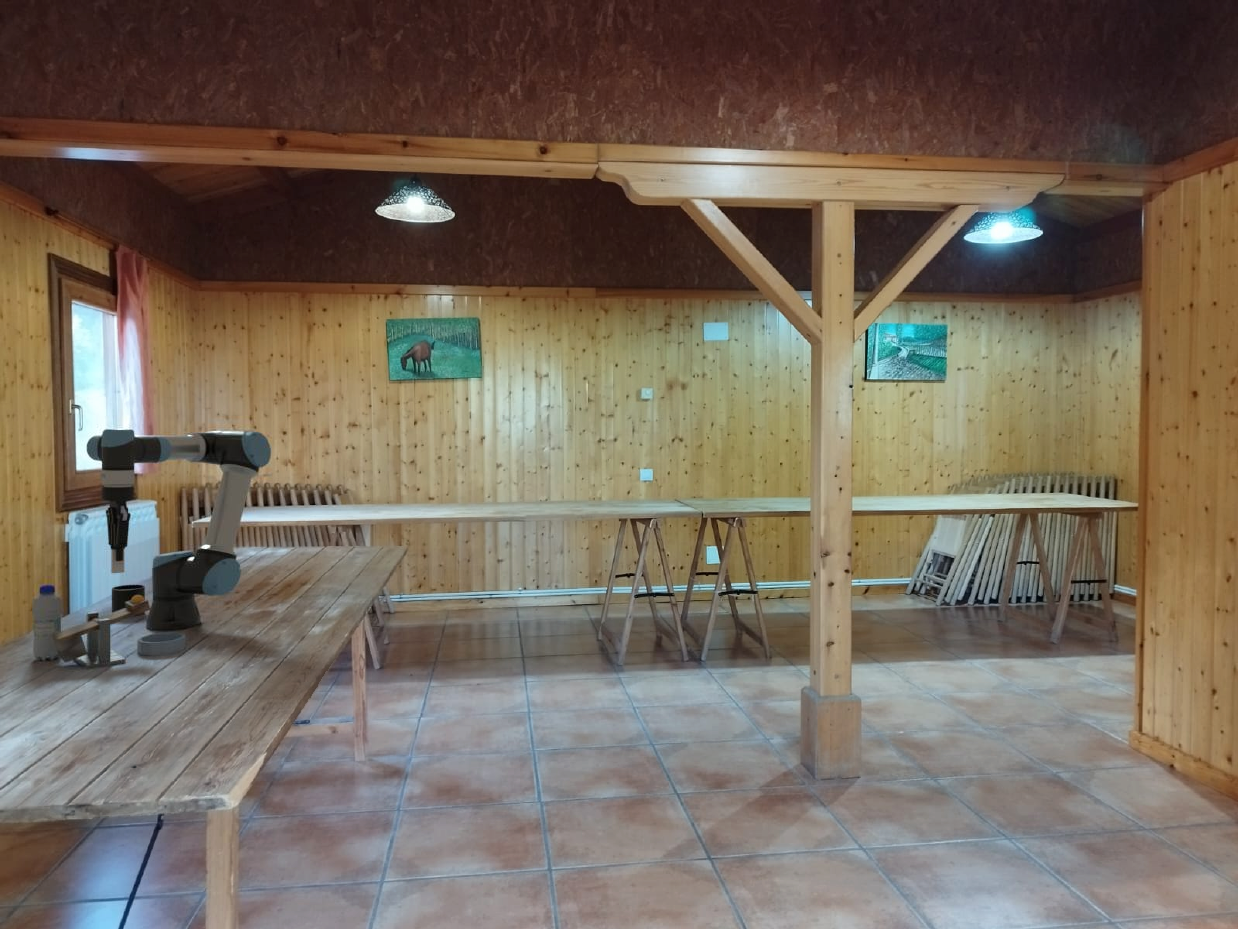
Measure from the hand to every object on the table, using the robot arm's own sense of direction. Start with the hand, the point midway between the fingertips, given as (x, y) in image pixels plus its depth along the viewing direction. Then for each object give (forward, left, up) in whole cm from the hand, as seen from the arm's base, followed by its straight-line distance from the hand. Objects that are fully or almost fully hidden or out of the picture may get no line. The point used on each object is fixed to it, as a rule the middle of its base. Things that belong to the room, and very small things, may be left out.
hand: (117, 572), depth 220 cm
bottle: (+9, -15, -24) cm, 29 cm away
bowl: (-10, +4, -23) cm, 26 cm away
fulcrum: (+4, -2, -23) cm, 24 cm away
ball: (-5, +2, -8) cm, 10 cm away
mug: (-36, -45, -24) cm, 62 cm away
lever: (+2, -1, -19) cm, 19 cm away
